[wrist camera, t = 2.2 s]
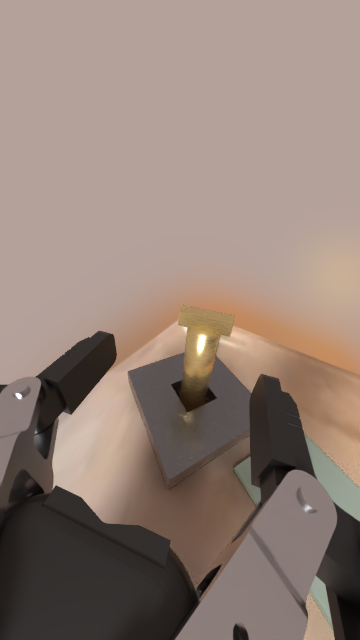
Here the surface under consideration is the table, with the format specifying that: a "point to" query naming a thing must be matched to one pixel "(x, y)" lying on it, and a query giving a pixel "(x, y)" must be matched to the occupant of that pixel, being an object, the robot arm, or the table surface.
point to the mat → (339, 489)
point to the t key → (200, 351)
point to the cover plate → (189, 416)
